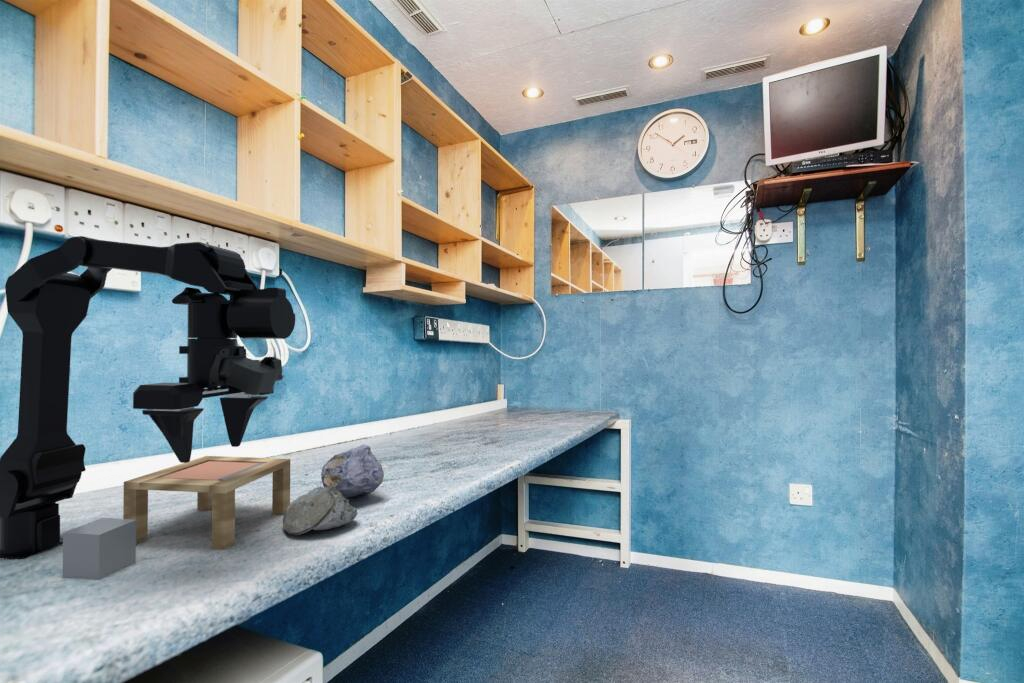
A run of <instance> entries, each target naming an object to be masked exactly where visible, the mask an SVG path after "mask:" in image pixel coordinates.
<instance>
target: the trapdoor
mask: <svg viewBox="0 0 1024 683" xmlns="http://www.w3.org/2000/svg"><path fill="white" fill-rule="evenodd" d="M262 464H264V463H244V462H217V461H208V462H205V463H202V464H199V465H196V466H193V467H190V468H187V469H184V470H181V471H178V472H175V473H172V474H169V475H166V476H163V477H160V478H172V479H196V480H219V481H222V480H225V479H227V478H230V477H232V476H235V475H237V474H239V473H242V472H244V471H247V470H249V469H252V468H254V467H257V466H259V465H262Z"/></svg>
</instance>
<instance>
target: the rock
mask: <svg viewBox="0 0 1024 683" xmlns="http://www.w3.org/2000/svg"><path fill="white" fill-rule="evenodd" d="M320 476H321V482H322V487H332V488H335V489H337V490H338V491H339V492H340V493H342V496H345V497H348V498H353V497H356V496H361V495H370V494H371V493H373V492H375V491H376V490H377V489H378V488H379V486H381V484H383V480H384V476H385V472H384V469H383V465H382V464H381V463H380V462H379V461H378V458H377V457H376V456H375V455H374V454H373V451H372V450H371V447H370V446H369V445H365V444H362V445H359V446H357V447H355V448H351V449H349V450H348V451H345V452H341V453H337V454H334V455H333V456H332V457H331V458H330V459H329V460H328V461H327V462H326V463H325V464H324V465H323V466H322V469H321V472H320Z"/></svg>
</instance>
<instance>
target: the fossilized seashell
mask: <svg viewBox="0 0 1024 683" xmlns="http://www.w3.org/2000/svg"><path fill="white" fill-rule="evenodd" d="M357 516H358V512H357V508H356V507H355V506H353V505H351V504H350V503H349V499H347V498H345V497H344V495H342V493H340V492H339V491H338V490H337V489H335V488H332V487H324V486H318V487H314V488H313V489H311V490H309V491H308V492H307V493H305V494H302V495H300V496H298V497H297V498H295V499H293V500H292V501H291V502H290V505H289V506H288V508H287V509H286V511H285V513H284V514H283V517H282V527H283V529H284V530H285V531H286V532H287V533H288V534H289V535H290V536H300V535H302V534H305V533H308V532H310V531H311V530H313V531H322V530H323V531H324V530H325V531H326V530H329V529H335V528H338V527H341V526H343V525H346V524H348V523H350V522H352V521H354V520H355V519H356V517H357Z"/></svg>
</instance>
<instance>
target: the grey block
mask: <svg viewBox="0 0 1024 683" xmlns="http://www.w3.org/2000/svg"><path fill="white" fill-rule="evenodd" d="M62 538H63V544H62V575H61V576H62V578H63V579H77V580H78V579H80V580H81V579H82V580H97V581H98V580H101V579H103V578H106V577H108V576H110V575H112V574H114V573H117V572H119V571H122V570H123V569H125V568H129V567H130V566H133V565H135V564H136V563H137V544H136V520H132V519H123V518H111V517H101V518H99V519H95V520H93V521H90V522H87V523H85V524H83V525H79V526H77V527H75V528H72V529H69V530H66V531H64V532H62Z"/></svg>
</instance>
